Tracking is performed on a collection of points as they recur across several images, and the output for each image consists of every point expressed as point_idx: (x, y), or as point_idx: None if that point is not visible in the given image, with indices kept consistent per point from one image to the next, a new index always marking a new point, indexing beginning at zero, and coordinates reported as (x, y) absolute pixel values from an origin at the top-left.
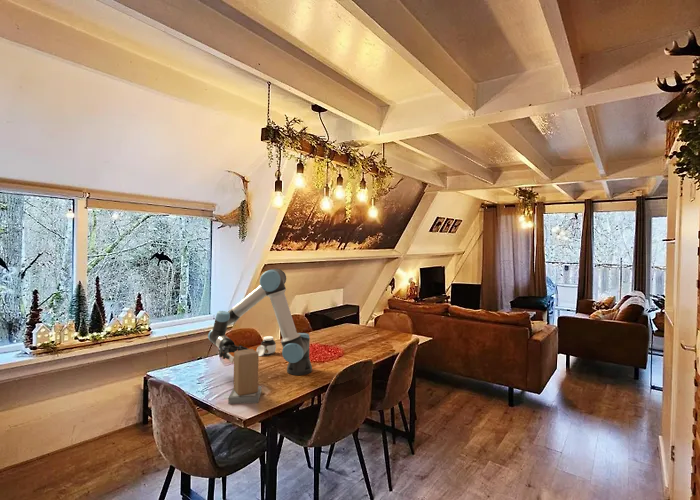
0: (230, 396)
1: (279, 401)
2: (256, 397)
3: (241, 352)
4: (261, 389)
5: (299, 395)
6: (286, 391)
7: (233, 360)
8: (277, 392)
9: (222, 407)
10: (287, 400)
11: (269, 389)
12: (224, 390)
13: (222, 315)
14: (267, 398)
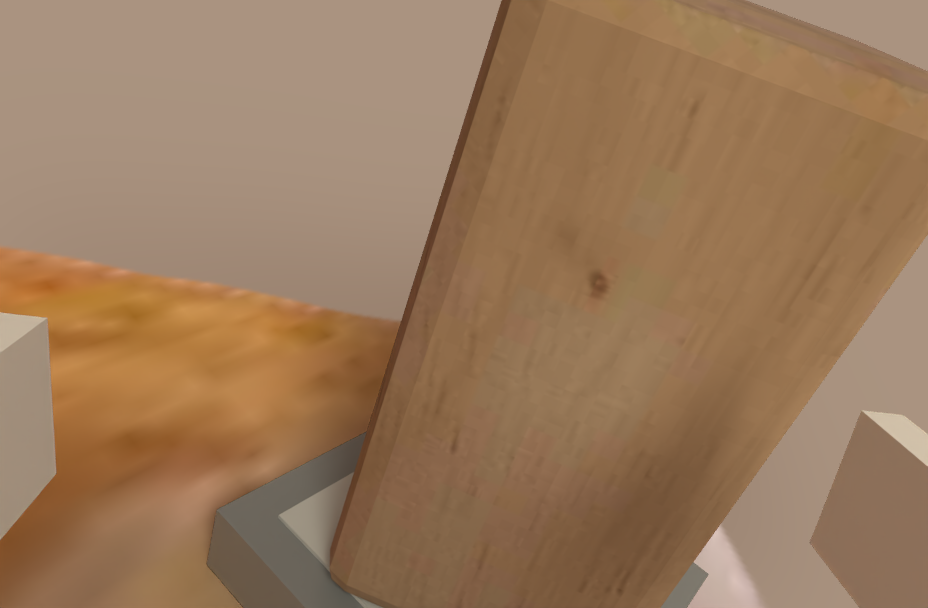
0: (681, 580)
1: (302, 326)
2: None
3: (835, 35)
4: (214, 540)
5: (98, 265)
6: (50, 365)
7: (837, 483)
8: (125, 417)
9: (742, 599)
10: (248, 295)
11: (74, 534)
12: None
13: None
14: (318, 416)
